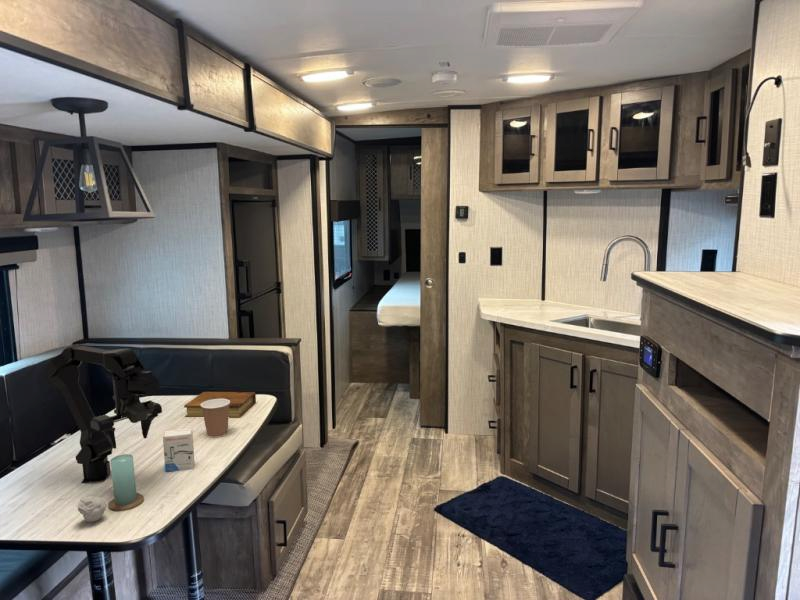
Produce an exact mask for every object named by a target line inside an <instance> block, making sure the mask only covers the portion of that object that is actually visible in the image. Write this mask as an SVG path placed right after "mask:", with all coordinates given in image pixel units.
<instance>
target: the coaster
mask: <svg viewBox="0 0 800 600" xmlns="http://www.w3.org/2000/svg"><path fill="white" fill-rule="evenodd" d="M136 493H137V492H136ZM144 500H145V496H144V494H142V493H137V500H136V501H135V502H133V503H131V504H129V505H125V506H117V505H115V500H114V498H113V499H111V500H110V501H109V502H108V505H107V508H108V509H109V511H112V512H123V511H124V512H125V511H128V510H132V509H135V508H136V507H138V506H140V505H142V504H143V503H144Z"/></svg>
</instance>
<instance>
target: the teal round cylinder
mask: <svg viewBox="0 0 800 600" xmlns="http://www.w3.org/2000/svg"><path fill="white" fill-rule="evenodd" d="M109 461H110V470H111V480H112V489H113V499H114V500H115V505H117V506H125V505H129V504H131V503H133V502H135V501H136V500H137V486H136V485H137V484H136V476H135V475H136V474H135V463H134V456H133V455H132V454H130V453H128V454H126V453H125V454H119V455H116V456H114V457H112V458H111V459H110V460H109Z"/></svg>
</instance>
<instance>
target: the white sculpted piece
mask: <svg viewBox="0 0 800 600" xmlns="http://www.w3.org/2000/svg"><path fill="white" fill-rule="evenodd" d="M76 507H77V511H78V512H79V513H80V514H81V515H82V517H83V519H84V521H87V522H88V523H89V522H91V523H94V522H97V521H99V520H101V518H102V517H103V516H104V513H105V511H107V510H106V509H107V503H106V499H104V498H102V497H99V496H98V497H96V496H92V495H88V496H86V497H81V499H80V502H78V504H77V505H76Z"/></svg>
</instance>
